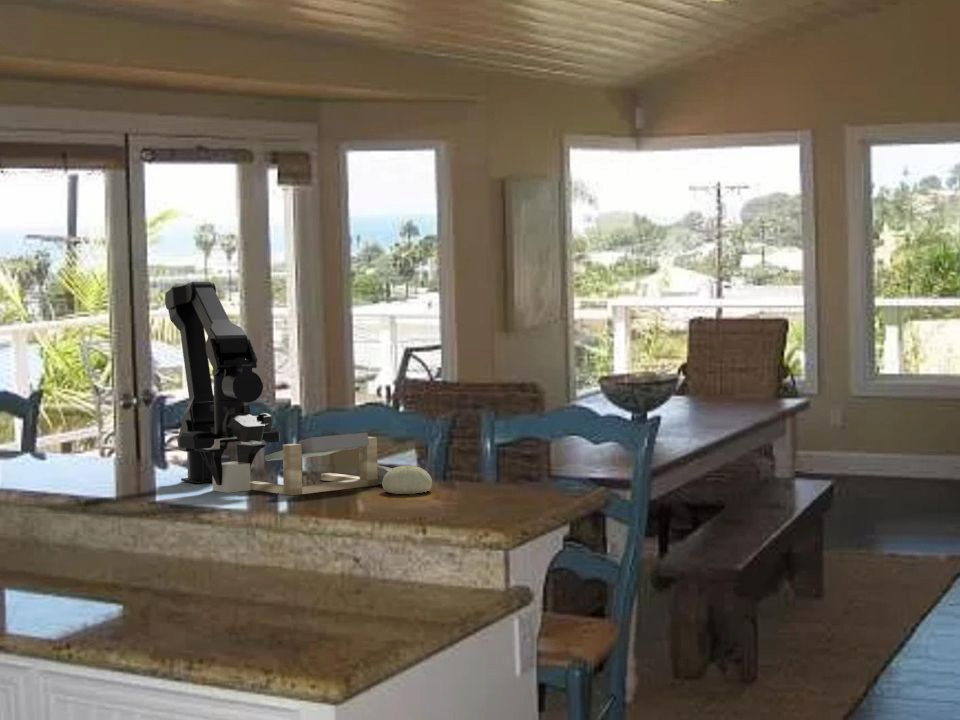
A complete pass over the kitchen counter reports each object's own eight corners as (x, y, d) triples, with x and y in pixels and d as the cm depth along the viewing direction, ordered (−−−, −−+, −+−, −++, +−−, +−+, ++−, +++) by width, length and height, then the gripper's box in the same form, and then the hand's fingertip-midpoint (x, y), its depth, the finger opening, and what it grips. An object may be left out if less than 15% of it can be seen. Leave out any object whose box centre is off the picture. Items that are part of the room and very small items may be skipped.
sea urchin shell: (441, 479, 285) (430, 451, 280) (431, 513, 280) (419, 486, 275) (395, 477, 288) (383, 450, 283) (384, 512, 283) (372, 485, 278)
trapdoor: (265, 464, 290) (263, 452, 290) (326, 458, 300) (324, 446, 300) (310, 450, 279) (308, 437, 280) (371, 444, 289) (369, 432, 289)
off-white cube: (212, 490, 288) (212, 463, 288) (235, 487, 292) (234, 461, 292) (227, 492, 285) (227, 465, 284) (250, 490, 288) (249, 463, 288)
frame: (245, 488, 290) (244, 440, 290) (330, 478, 304) (329, 433, 303) (291, 495, 279) (290, 445, 279) (377, 485, 293) (376, 437, 292)
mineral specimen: (391, 485, 301) (391, 463, 301) (425, 486, 291) (425, 463, 291) (363, 486, 297) (362, 464, 297) (396, 488, 287) (395, 464, 287)
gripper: (210, 404, 275) (212, 492, 276) (296, 398, 288) (298, 482, 288) (176, 402, 283) (178, 487, 284) (262, 396, 296) (263, 477, 297)
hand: (231, 483), depth 288 cm, fingers closed on off-white cube, 5 cm apart
